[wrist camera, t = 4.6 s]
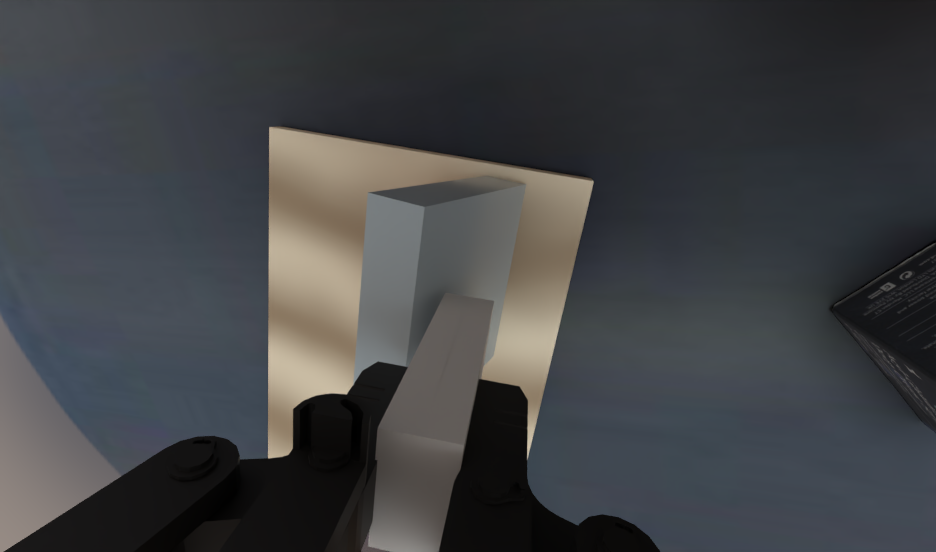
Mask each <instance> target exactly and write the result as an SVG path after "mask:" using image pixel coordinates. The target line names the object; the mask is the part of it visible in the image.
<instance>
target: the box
mask: <svg viewBox="0 0 936 552" xmlns="http://www.w3.org/2000/svg"><path fill="white" fill-rule="evenodd" d="M833 313H834V315H835V316H836V317H837V318H838V319H839V320H840V322H841V323H842V324H843V325H844V326H845V328H846V329H847V330H848V331H849V332H850V333H851V335H852V336H853V337H854V338H855V340H856V341H857V342H858V343H859V344H860V346H861V347H862V348H863V349H864V350H865V352H866V353H867V354H868V355H869V357H870V358H871V359H872V360H873V361H874V362H875V364H876V365H877V366H878V367H879V368H880V370H881V371H882V372H883V374H884V375H885V376H886V377H887V378H888V379H889V381H890V382H891V383H892V384H893V385H894V387H895V388H896V389H897V390H898V391H899V393H900V394H901V395H902V396H903V397H904V399H905V400H906V402H907V404H909V405H910V406H911V408H912V409H913V410H914V411H915V413H916V414H917V416H918V417H919V418H920V419H921V421H922V422H923V423H924V424H925V425H926V426H927V427H929V428H930V429H931V430H933V431H934V432H935V433H936V243H934V244H932V245H930V246H928V247H927V248H925V249H924V250H922V251H921V252H919V253H917V254H916V255H914V256H913V257H911V258H909V259H907V260H905V261H904V262H903V263H901V264H900V265H898V266H897V267H895V268H893V269H892V270H890V271H888V272H886V273H885V274H883V275H882V276H880V277H879V278H877V279H876V280H874V281H872V282H871V283H869V284H868V285H866V286H865V287H863V288H861V289H860V290H858V291H856V292H855V293H853V294H852V295H850V296H848V297H847V298H845V299H844V300H842V301H840V302H838V303H836V304H835V305H834V307H833Z"/></svg>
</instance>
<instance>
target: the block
mask: <svg viewBox="0 0 936 552" xmlns="http://www.w3.org/2000/svg"><path fill="white" fill-rule="evenodd" d="M525 189H526V184H523V183H518V182H514V181H509V180H504V179H500V178H495V177H490V176H480V177H473V178H466V179H459V180H452V181H445V182H438V183H431V184H424V185H417V186H410V187H403V188H396V189H389V190H382V191H375V192H368V197H367V210H366V223H365V237H364V250H363V263H362V276H361V289H360V302H359V316H358V329H357V342H356V355H355V368H354V381H353V386H354V383H355V381H356V380H357V378H358V377H359V375H360V374H361V372H362V371H363V370H364V369H366V368H368V367H369V366H371V365H373V364H374V363H376V362H378V361H379V362H384V363H389V364H395V365H400V366H405V367H408V366H409V364H410V362H411V360H412V358H413V356H414V354H415V352H416V350H417V348H418V346H419V344H420V342H421V340H422V338H423V336H424V334H425V332H426V330H427V328H428V326H429V324H430V322H431V320H432V318H433V316H434V314H435V312H436V310H437V308H438V306H439V304H440V302H441V300H442V298H443V296H444V294H445V293H451V294H457V295H463V296H468V297H474V298H480V299H486V300H492V301H494V305H493V311H492V317H491V324H490V330H489V336H488V342H487V348H486V354H485V360H484V365H485V364H486V363H487V362H488V361H489V360H490V359H491V358H492V357H493V356H494V351H495V346H496V341H497V335H498V330H499V325H500V320H501V314H502V309H503V304H504V299H505V293H506V288H507V283H508V278H509V272H510V267H511V262H512V257H513V251H514V246H515V241H516V236H517V230H518V225H519V220H520V215H521V210H522V204H523V199H524V194H525ZM483 367H484V366H483Z"/></svg>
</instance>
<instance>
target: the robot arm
mask: <svg viewBox="0 0 936 552" xmlns="http://www.w3.org/2000/svg"><path fill="white" fill-rule="evenodd" d="M493 305H494V301H492V300H486V299H480V298H474V297H468V296H463V295H457V294H451V293H445V294H444V296H443V298H442V300H441V302H440V304H439V306H438V308H437V310H436V312H435V314H434V316H433V318H432V320H431V322H430V324H429V326H428V328H427V330H426V332H425V334H424V336H423V338H422V340H421V342H420V344H419V346H418V348H417V350H416V352H415V354H414V356H413V358H412V360H411V362H410V364H409V366H408V367H405V366H400V365H395V364H389V363H384V362H379V361H378V362H376V363H374V364H373V365H371V366H369V367H368V368H366V369H364V370H363V371H362V372H361V374H360V375H359V377H358V378H357V380H356V381H355V383H354V386H352V387H351V389H350V390H349V392H348V393H347V395H346V394H335V393H329V394H323V395H316V396H314V397H311V398H309V399H306V400H304V401H302V402H301V403H300V404H298V405H297V406H296V407H295V408H294V409H293V449H292V450H291V452H290V453H289V455H286V456H283V457H276V458H266V459H244V460H240V455H239V452H238V449H237V446H236V445H234V444H233V443H232V442H230V441H229V440H228V439H224V438H220V437H216V436H203V437H195V438H191V439H187V440H183V441H180V442H178V443H176V444H173V445H171V446H169V447H167V448H165V449H164V450H162V451H160V452H159V453H157V454H156V455H154V456H153V457H151V458H149V459H148V460H146V461H145V462H143V463H142V464H140V465H139V466H137V467H135V468H134V469H132V470H131V471H129V472H128V473H126V474H124V475H123V476H121V477H120V478H118V479H117V480H115V481H114V482H112V483H111V484H109V485H108V486H106V487H104V488H103V489H101V490H99V491H98V492H96V493H95V494H93V495H92V496H90V497H89V498H87V499H85V500H84V501H82V502H81V503H79V504H78V505H76V506H74V507H73V508H72V509H70V510H68V511H67V512H65V513H64V514H62V515H60V516H59V517H57V518H56V519H54V520H53V521H51V522H50V523H48V524H46V525H45V526H43V527H42V528H40V529H39V530H37V531H36V532H34V533H32V534H31V535H29V536H28V537H26V538H25V539H23V540H21V541H20V542H18V543H17V544H15V545H14V546H12V547H10V548H9V549H7V550H6V551H4V552H361V549H362V547H363V544H364V542H365V539H366V537H367V534H368V532H369V542H368V547H373V548H377V549H382V550H386V551H391V552H660V551H659V549H658V548H657V547H656V545H655V544H654V543H653V541H652V540H651V539H650V537H649V536H648V535H646V534H645V533H644V532H643V531H641V530H640V529H639V528H638V527H636V526H635V525H634V524H632V523H629V522H627V521H625V520H623V519H621V518H619V517H614V516H608V515H597V516H591V517H588V518H587V519H585V520H584V521H583V522H581V523H580V524H579V526H577V525H575V524H573V523H571V522H569V521H567V520H565V519H563V518H561V517H559V516H557V515H556V514H554V513H552V512H551V511H549V510H548V509H547V508H545V507H544V506H543V505H542V504H541V503H540V502H539V501H538V500H537V499H536V497H535V496H534V495H533V493H532V491H531V489H530V487H529V485H528V479H527V440H528V430H527V428H528V399H527V398H526V396H525V394H524V393H523V391H522V389H521V388H520V386H515V385H510V384H504V383H499V382H494V381H488V380H483V379H482V372H483V366H484V360H485V354H486V348H487V342H488V336H489V330H490V324H491V317H492V311H493ZM369 529H370V530H369Z"/></svg>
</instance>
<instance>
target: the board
mask: <svg viewBox="0 0 936 552" xmlns="http://www.w3.org/2000/svg"><path fill="white" fill-rule="evenodd" d="M480 176H490V177H495V178H500V179H504V180H509V181H514V182H518V183H523V184H526V189H525V194H524V199H523V204H522V210H521V215H520V220H519V225H518V230H517V236H516V241H515V246H514V251H513V257H512V262H511V267H510V272H509V278H508V283H507V288H506V293H505V299H504V304H503V309H502V314H501V320H500V325H499V330H498V335H497V341H496V346H495V351H494V356H493V357H492V358H491V359H490V360H489V361H488V362H487V363H486V364H485V365H484V367H483V372H482V379H483V380H488V381H494V382H499V383H504V384H510V385H515V386H520V388H521V389H522V391H523V393H524V394H525V396H526V398H527V399H528V428H527V430H528V440H527V459H528V455H529V451H530V446H531V442H532V438H533V434H534V430H535V426H536V421H537V417H538V413H539V409H540V405H541V400H542V396H543V392H544V388H545V384H546V380H547V375H548V371H549V367H550V363H551V359H552V355H553V350H554V346H555V342H556V338H557V334H558V329H559V325H560V321H561V317H562V313H563V309H564V304H565V300H566V296H567V292H568V288H569V283H570V279H571V275H572V271H573V267H574V263H575V258H576V254H577V250H578V246H579V242H580V238H581V233H582V229H583V225H584V221H585V217H586V212H587V208H588V204H589V200H590V196H591V192H592V187H593V183H594V181H593V180H592V179H591V178H586V177H580V176H574V175H568V174H562V173H556V172H550V171H544V170H538V169H532V168H526V167H520V166H514V165H509V164H503V163H497V162H491V161H485V160H479V159H473V158H467V157H461V156H455V155H449V154H443V153H437V152H431V151H425V150H419V149H413V148H407V147H401V146H395V145H389V144H383V143H377V142H371V141H365V140H359V139H353V138H347V137H341V136H335V135H329V134H323V133H317V132H311V131H305V130H299V129H293V128H287V127H269V348H268V458H276V457H283V456H286V455H289V453H290V452H291V450H292V449H293V409H294V408H295V407H296V406H297V405H298V404H300V403H301V402H302V401H304V400H306V399H309V398H311V397H314V396H316V395H323V394H329V393H335V394H346V395H347V393H348V392H349V390H350V389H351V387H352V386H353V381H354V368H355V355H356V342H357V329H358V316H359V302H360V289H361V276H362V263H363V250H364V237H365V223H366V210H367V197H368V192H375V191H382V190H389V189H396V188H403V187H410V186H417V185H424V184H431V183H438V182H445V181H452V180H459V179H466V178H473V177H480Z"/></svg>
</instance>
